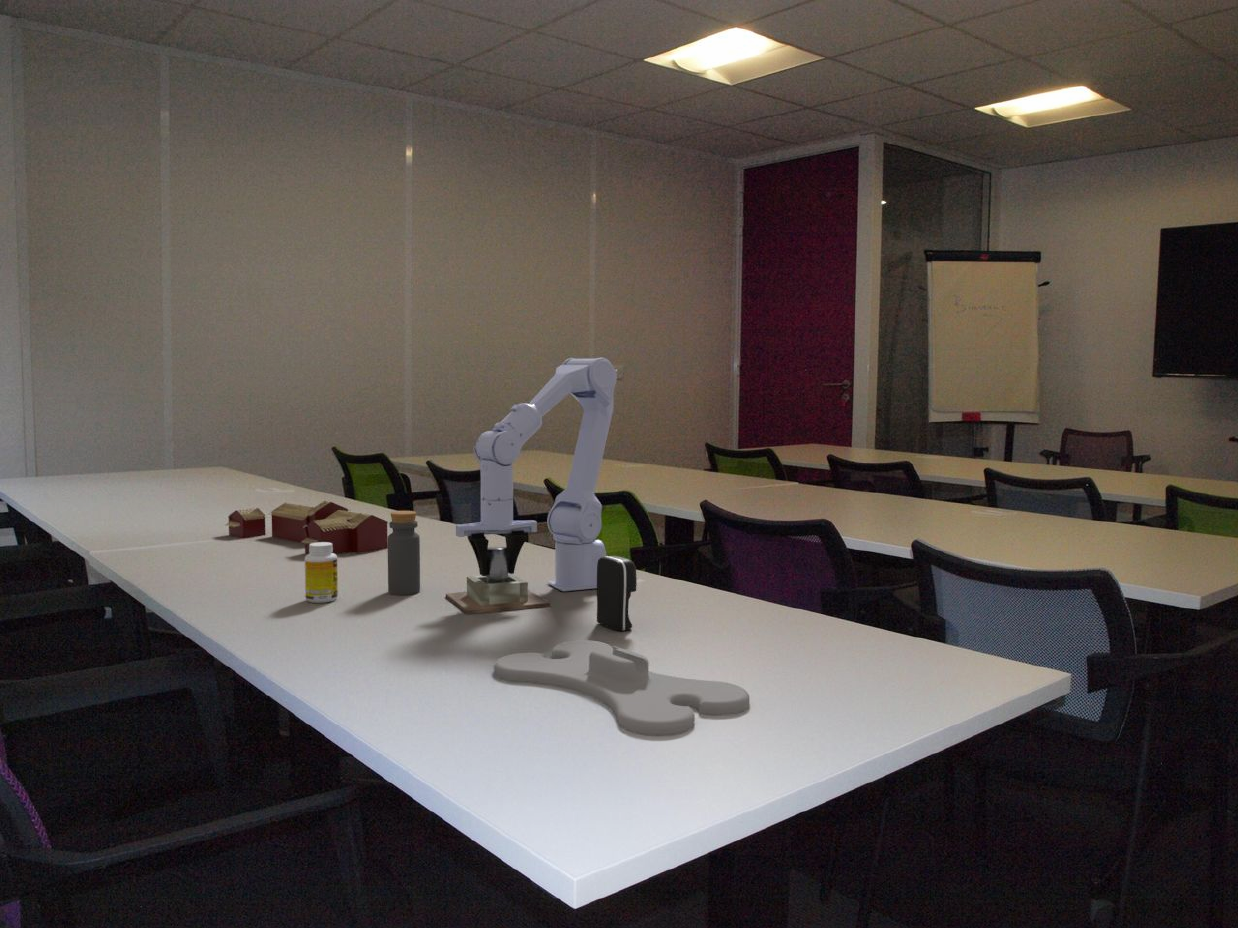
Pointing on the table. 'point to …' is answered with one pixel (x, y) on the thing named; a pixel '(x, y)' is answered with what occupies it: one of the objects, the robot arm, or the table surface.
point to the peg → (497, 565)
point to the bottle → (403, 554)
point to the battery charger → (615, 591)
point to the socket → (496, 596)
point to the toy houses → (315, 526)
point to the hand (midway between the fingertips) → (496, 573)
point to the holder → (625, 686)
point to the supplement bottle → (321, 573)
